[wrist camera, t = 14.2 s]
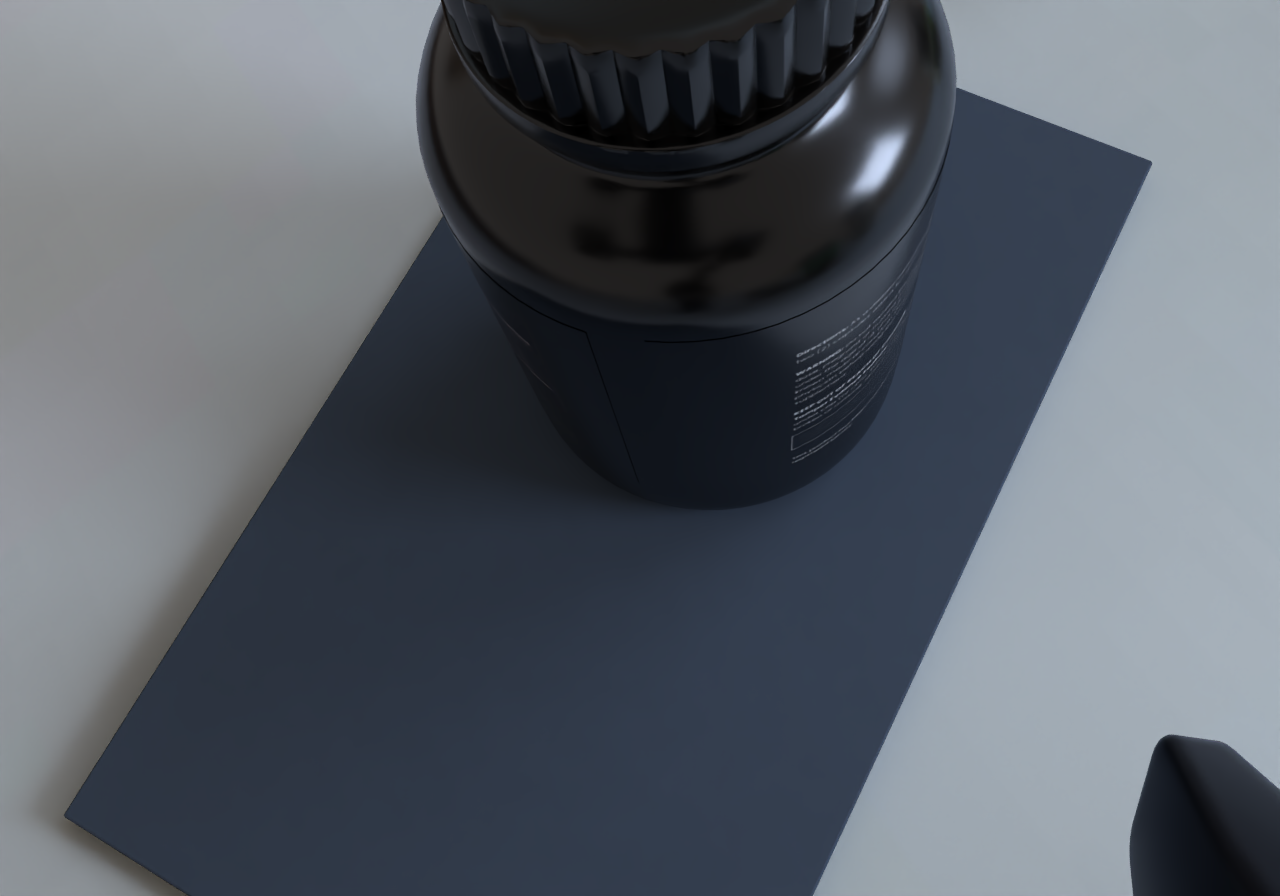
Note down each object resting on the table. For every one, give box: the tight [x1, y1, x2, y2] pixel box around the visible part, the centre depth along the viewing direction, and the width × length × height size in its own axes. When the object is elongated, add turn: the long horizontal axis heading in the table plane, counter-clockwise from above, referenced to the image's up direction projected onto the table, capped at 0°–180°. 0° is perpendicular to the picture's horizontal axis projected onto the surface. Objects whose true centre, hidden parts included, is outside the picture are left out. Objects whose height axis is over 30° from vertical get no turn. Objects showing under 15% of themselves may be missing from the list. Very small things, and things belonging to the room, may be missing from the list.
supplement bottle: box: [416, 0, 956, 510], centre depth 17 cm, size 7×7×12 cm
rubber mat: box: [64, 88, 1152, 896], centre depth 23 cm, size 20×12×1 cm, turn 152°
